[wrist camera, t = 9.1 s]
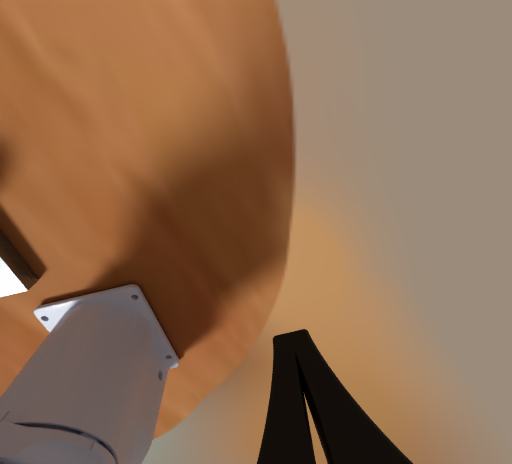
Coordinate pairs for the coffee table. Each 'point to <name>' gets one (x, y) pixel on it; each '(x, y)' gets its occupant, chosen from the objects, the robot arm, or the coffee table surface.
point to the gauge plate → (13, 270)
